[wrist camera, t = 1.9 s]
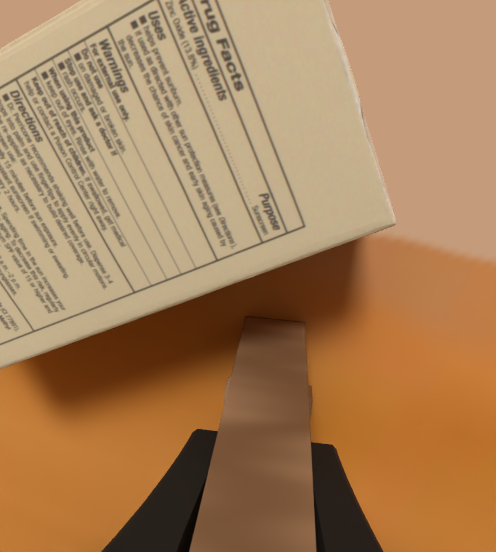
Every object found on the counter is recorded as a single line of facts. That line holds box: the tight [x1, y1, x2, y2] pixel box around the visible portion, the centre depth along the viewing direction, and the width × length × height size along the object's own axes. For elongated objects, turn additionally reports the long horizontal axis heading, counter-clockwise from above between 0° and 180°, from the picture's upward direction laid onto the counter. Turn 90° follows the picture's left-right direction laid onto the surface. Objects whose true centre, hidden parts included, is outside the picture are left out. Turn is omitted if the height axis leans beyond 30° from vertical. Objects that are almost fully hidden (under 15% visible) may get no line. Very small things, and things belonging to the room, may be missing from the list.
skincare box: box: [0, 0, 396, 369], centre depth 11 cm, size 6×4×12 cm
